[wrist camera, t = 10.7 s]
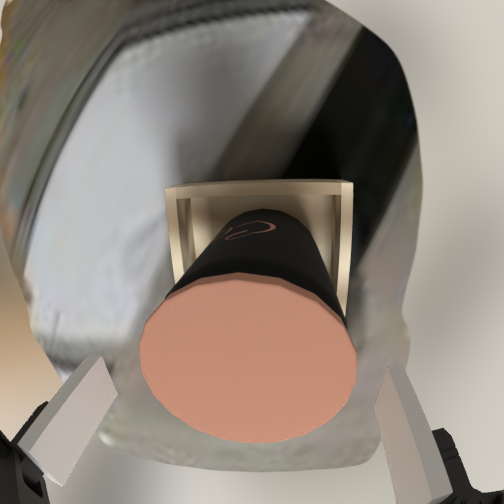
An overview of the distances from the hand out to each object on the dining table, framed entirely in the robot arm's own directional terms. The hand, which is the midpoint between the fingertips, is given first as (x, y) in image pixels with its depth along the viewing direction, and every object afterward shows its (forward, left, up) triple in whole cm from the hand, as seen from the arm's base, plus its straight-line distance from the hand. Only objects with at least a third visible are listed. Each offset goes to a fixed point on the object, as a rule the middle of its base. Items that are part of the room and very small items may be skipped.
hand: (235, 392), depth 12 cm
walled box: (+2, 0, -20) cm, 20 cm away
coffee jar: (0, 0, -19) cm, 19 cm away
